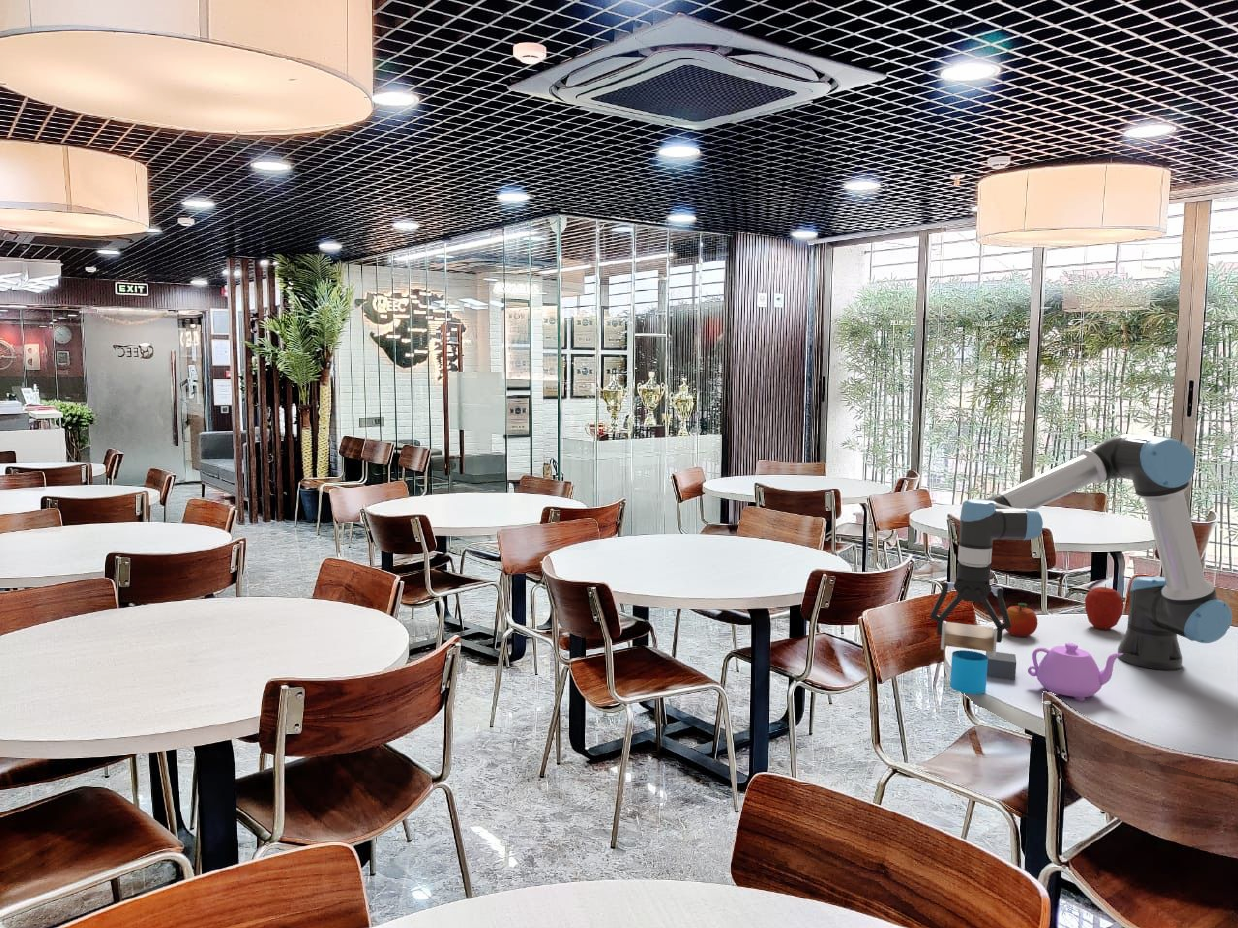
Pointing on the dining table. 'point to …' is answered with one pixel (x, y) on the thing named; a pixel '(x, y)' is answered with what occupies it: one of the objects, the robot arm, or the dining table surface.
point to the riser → (1001, 665)
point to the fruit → (1021, 620)
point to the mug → (968, 672)
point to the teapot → (1071, 671)
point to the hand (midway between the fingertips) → (967, 651)
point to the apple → (1103, 607)
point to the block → (969, 636)
